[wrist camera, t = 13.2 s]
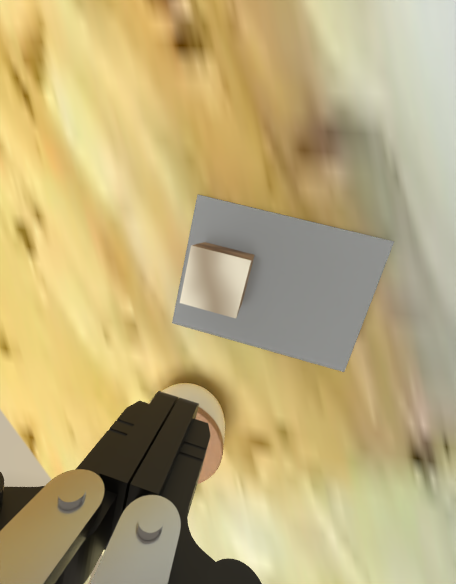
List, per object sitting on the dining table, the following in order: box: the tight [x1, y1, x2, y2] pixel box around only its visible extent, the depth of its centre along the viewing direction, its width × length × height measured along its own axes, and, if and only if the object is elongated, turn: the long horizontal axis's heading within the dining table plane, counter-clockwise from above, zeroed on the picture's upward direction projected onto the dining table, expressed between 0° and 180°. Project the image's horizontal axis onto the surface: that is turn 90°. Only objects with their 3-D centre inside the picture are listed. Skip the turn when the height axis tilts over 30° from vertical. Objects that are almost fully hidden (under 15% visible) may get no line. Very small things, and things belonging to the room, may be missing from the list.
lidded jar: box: [148, 383, 225, 484], centre depth 34 cm, size 11×11×9 cm
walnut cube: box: [180, 242, 255, 318], centre depth 31 cm, size 6×6×6 cm
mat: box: [172, 195, 394, 372], centre depth 33 cm, size 22×16×1 cm
